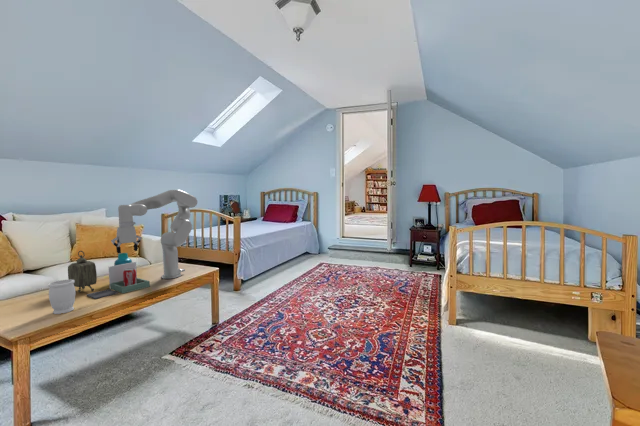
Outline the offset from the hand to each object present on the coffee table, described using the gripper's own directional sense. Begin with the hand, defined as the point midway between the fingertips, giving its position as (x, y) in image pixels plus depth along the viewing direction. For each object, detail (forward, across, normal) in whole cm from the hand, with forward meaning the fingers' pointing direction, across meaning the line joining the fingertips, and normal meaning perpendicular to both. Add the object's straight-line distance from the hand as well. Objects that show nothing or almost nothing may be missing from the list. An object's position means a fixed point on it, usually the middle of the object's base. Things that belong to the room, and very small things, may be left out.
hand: (127, 251), depth 197 cm
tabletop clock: (+23, +19, -17) cm, 34 cm away
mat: (+23, +15, +1) cm, 27 cm away
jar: (+23, +37, +14) cm, 46 cm away
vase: (+23, -5, -18) cm, 30 cm away
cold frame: (+23, 0, +1) cm, 23 cm away
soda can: (+23, 0, +1) cm, 23 cm away
